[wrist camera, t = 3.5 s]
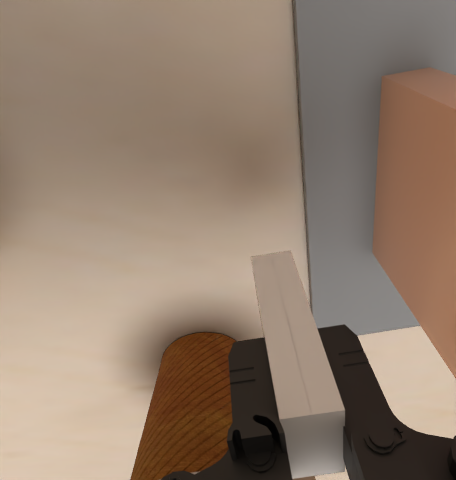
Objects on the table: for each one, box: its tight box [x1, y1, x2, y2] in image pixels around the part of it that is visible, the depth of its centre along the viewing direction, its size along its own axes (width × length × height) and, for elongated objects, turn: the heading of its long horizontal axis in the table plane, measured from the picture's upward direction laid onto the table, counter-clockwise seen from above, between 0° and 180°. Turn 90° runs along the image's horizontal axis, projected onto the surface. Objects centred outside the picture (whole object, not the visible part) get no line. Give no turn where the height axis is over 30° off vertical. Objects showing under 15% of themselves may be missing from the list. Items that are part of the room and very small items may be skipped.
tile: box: [372, 67, 456, 378], centre depth 16 cm, size 10×2×9 cm, turn 9°
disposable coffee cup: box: [130, 332, 237, 480], centre depth 23 cm, size 10×10×12 cm
